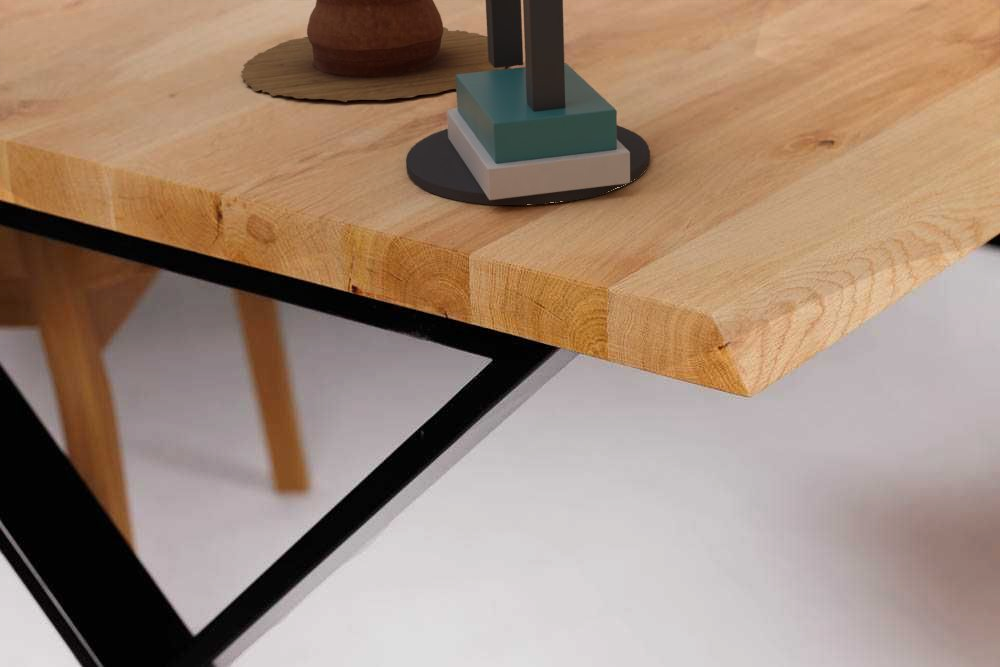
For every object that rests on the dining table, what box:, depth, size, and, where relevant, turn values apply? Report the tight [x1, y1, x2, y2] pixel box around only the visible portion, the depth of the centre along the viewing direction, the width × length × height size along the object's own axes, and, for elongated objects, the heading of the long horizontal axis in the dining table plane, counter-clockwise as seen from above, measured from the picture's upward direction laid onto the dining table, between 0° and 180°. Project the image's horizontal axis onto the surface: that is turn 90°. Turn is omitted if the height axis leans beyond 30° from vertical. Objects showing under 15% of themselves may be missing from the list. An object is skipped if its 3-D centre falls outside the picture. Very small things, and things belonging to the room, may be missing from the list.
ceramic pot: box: [240, 0, 506, 103], centre depth 92 cm, size 18×18×7 cm
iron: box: [446, 0, 631, 200], centre depth 72 cm, size 13×7×12 cm, turn 13°
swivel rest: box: [405, 125, 651, 206], centre depth 75 cm, size 13×13×1 cm
